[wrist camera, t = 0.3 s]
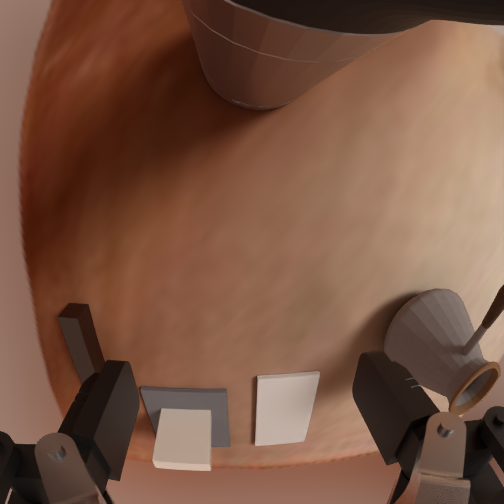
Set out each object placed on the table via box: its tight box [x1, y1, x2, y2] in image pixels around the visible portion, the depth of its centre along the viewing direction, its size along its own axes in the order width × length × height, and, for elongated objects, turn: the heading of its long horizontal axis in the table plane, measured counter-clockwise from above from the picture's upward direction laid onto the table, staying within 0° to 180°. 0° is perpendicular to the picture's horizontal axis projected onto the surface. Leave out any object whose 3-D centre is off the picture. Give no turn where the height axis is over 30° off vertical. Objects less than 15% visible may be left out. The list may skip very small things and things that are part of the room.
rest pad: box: [255, 371, 320, 446], centre depth 33 cm, size 14×7×1 cm, turn 179°
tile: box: [152, 408, 212, 471], centre depth 28 cm, size 2×6×8 cm, turn 89°
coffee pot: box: [383, 285, 504, 415], centre depth 22 cm, size 21×12×15 cm, turn 14°
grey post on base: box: [58, 303, 105, 384], centre depth 27 cm, size 13×4×3 cm, turn 179°
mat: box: [140, 386, 230, 447], centre depth 33 cm, size 12×10×1 cm
